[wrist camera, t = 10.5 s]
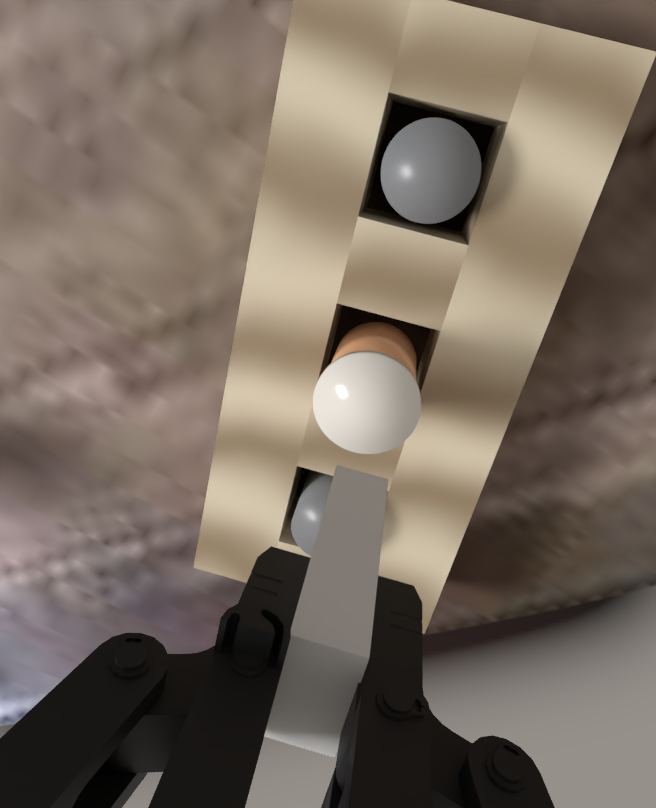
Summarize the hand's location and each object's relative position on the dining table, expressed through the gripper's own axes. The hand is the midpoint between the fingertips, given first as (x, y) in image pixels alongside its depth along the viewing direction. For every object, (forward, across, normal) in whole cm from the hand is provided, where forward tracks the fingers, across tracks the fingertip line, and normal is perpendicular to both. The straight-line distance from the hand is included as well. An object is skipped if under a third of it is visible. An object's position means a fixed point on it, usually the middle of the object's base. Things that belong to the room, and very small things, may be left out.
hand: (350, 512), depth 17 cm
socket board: (+18, 0, 0) cm, 18 cm away
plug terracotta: (+14, 0, 0) cm, 14 cm away
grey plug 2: (+17, 0, +9) cm, 20 cm away
